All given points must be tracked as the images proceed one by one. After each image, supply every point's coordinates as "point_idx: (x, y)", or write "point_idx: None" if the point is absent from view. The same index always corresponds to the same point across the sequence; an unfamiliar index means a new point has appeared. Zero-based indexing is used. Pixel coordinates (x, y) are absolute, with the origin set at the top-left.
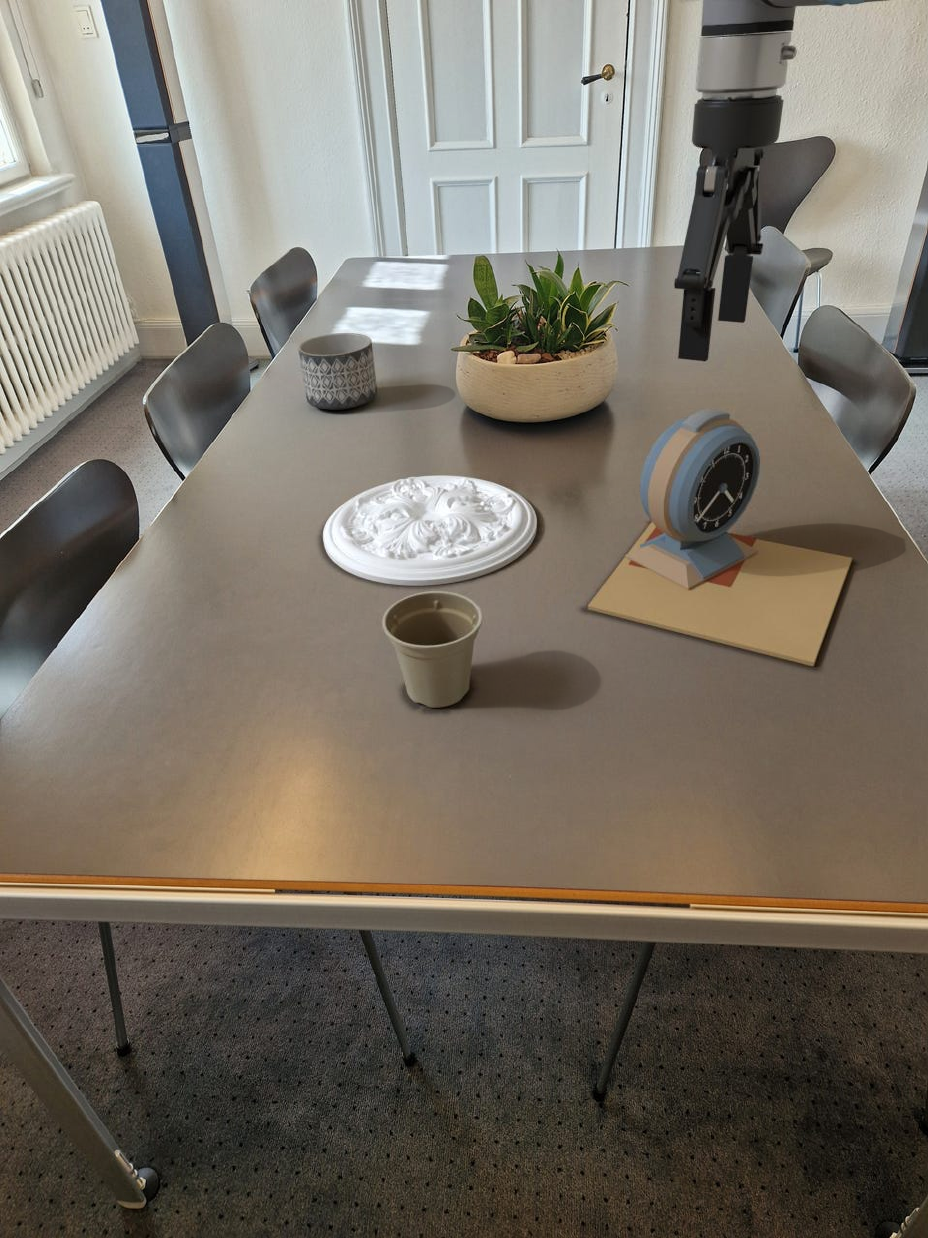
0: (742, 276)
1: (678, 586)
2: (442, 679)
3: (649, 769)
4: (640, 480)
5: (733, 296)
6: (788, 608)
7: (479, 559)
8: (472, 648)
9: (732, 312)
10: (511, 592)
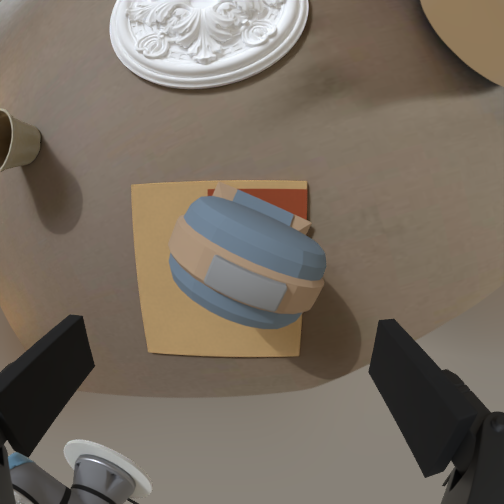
0: (412, 428)
1: None
2: (1, 162)
3: (33, 284)
4: (200, 197)
5: (395, 381)
6: (201, 330)
7: (151, 69)
8: (9, 167)
9: (380, 360)
10: (131, 115)
